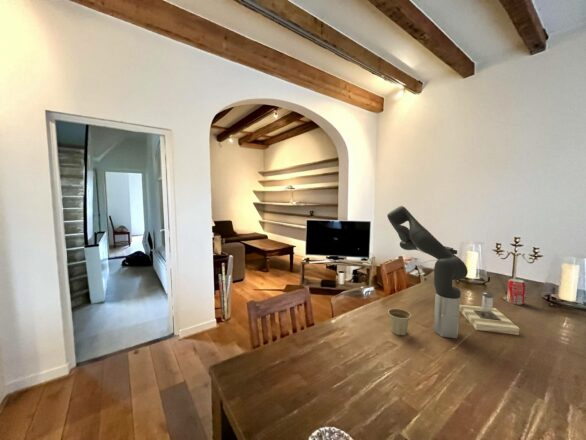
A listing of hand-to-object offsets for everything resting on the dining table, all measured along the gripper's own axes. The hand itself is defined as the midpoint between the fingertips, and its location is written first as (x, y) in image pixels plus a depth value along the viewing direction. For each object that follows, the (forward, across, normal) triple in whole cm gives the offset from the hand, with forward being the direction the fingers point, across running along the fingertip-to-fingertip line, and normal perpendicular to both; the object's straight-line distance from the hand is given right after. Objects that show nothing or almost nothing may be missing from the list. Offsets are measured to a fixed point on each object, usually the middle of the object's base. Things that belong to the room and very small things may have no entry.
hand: (450, 252), depth 132 cm
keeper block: (+17, +5, +30) cm, 35 cm away
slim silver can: (+17, +5, +30) cm, 35 cm away
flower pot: (+14, -42, +30) cm, 54 cm away
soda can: (+5, +42, +30) cm, 52 cm away
